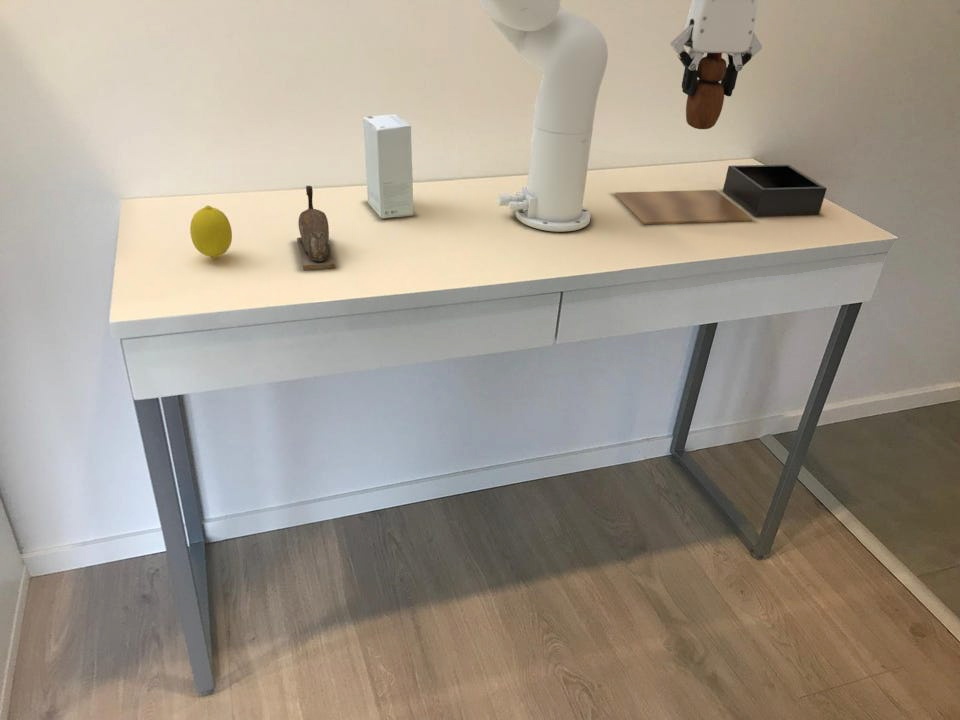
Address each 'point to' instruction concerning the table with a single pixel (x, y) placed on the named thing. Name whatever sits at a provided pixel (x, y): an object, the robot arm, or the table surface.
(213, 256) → the lemon
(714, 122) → the wooden figurine
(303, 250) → the figurine
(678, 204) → the brown wooden board
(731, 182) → the box
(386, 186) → the cosmetic box
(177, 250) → the table surface
